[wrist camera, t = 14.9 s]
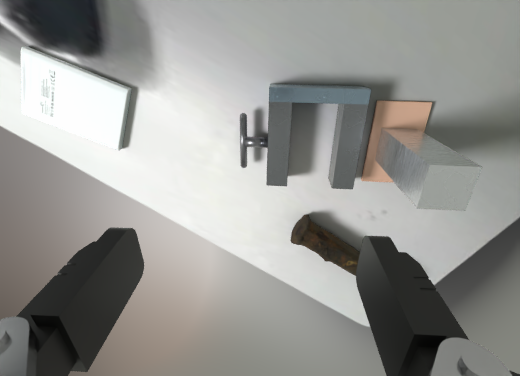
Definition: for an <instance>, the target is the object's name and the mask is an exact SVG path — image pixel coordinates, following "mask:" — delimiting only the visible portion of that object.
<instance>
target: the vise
mask: <svg viewBox="0 0 520 376" xmlns="http://www.w3.org/2000/svg"><path fill="white" fill-rule="evenodd" d="M370 93H371V89H369V88H366V87H364V86H332V85H292V84H270V87H269V119H268V137H247V115H246V114H245V113H242V114H241V115H240V154H241V167H242V168H245V167H246V166H247V147H266V148H268V153H267V185H272V186H287V176H288V161H289V145H290V130H291V115H292V102H297V103H332V104H339V105H338V112H337V119H336V127H335V134H334V141H333V148H332V156H331V163H330V170H329V177H328V179H329V181H330V184H331V187H332V188H336V189H353V186H354V180H355V175H356V169H357V164H358V159H359V153H360V148H361V142H362V137H363V131H364V126H365V121H366V115H367V110H368V104H369V99H370Z"/></svg>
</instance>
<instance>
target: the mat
mask: <svg viewBox="0 0 520 376" xmlns="http://www.w3.org/2000/svg"><path fill="white" fill-rule="evenodd" d="M431 106H432V102H413V101H377V102H376V107H375V112H374V117H373V122H372V127H371V132H370V138H369V143H368V148H367V153H366V158H365V163H364V168H363V173H362V178H361V180H362V181H374V182H394V181H393V180H392V179H391V178H390V177H389V176H388V174H387V173H386V172H385V171H384V170H383V169H382V167H381V166H380V165H379V164H378V163H377V162H376V160H375V157H376V152H377V147H378V142H379V137H380V133H381V128H407V129H418V130H419V131H421V132H423V133H424V131H425V127H426V124H427V120H428V117H429V113H430V110H431Z"/></svg>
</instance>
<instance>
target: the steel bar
mask: <svg viewBox="0 0 520 376" xmlns="http://www.w3.org/2000/svg"><path fill="white" fill-rule="evenodd" d="M375 160H376V162H377V163H378V164H379V165H380V166H381V167H382V169H383V170H384V171H385V172H386V173H387V174H388V176H389V177H390V178H391V179H392V180H393V181H394V183H395V184H396V185H397V186H398V187H399V189H400V190H401V191H402V192H403V193H404V194H405V196H406V197H407V198H408V199H409V200H410V201H411V203H412V204H413V205H414V206H415V207H416V208H417V209H438V210H459V211H465V210H466V207H467V205H468V202H469V200H470V197H471V195H472V192H473V190H474V187H475V185H476V182H477V180H478V177H479V175H480V172H481V170H482V166H480V165H478V164H477V163H475V162H473V161H471V160H470V159H468V158H466V157H464V156H463V155H461V154H459V153H458V152H456V151H454V150H452V149H451V148H449V147H447V146H445V145H444V144H442V143H440V142H438V141H437V140H435V139H433V138H432V137H430V136H428V135H426V134H425V133H423V132H421V131H419V130H418V129H407V128H381V133H380V137H379V142H378V147H377V152H376V157H375Z"/></svg>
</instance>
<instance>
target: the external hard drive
mask: <svg viewBox="0 0 520 376" xmlns="http://www.w3.org/2000/svg"><path fill="white" fill-rule="evenodd" d="M131 91H132V88H129V87H127V86H124V85H122V84H119V83H117V82H114V81H112V80H109V79H107V78H104V77H102V76H99V75H97V74H94V73H92V72H89V71H87V70H84V69H82V68H79V67H77V66H74V65H72V64H69V63H67V62H64V61H62V60H60V59H57V58H55V57H52V56H50V55H47V54H45V53H42V52H40V51H37V50H35V49H32V48H30V47H22V48H21V111H22V114H24V115H27V116H29V117H32V118H35V119H37V120H40V121H42V122H45V123H48V124H50V125H53V126H55V127H58V128H61V129H63V130H66V131H68V132H71V133H74V134H76V135H79V136H82V137H84V138H87V139H89V140H92V141H95V142H97V143H100V144H103V145H105V146H108V147H111V148H113V149H116V150H120V149H122V145H123V139H124V133H125V127H126V121H127V115H128V109H129V103H130V97H131Z"/></svg>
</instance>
